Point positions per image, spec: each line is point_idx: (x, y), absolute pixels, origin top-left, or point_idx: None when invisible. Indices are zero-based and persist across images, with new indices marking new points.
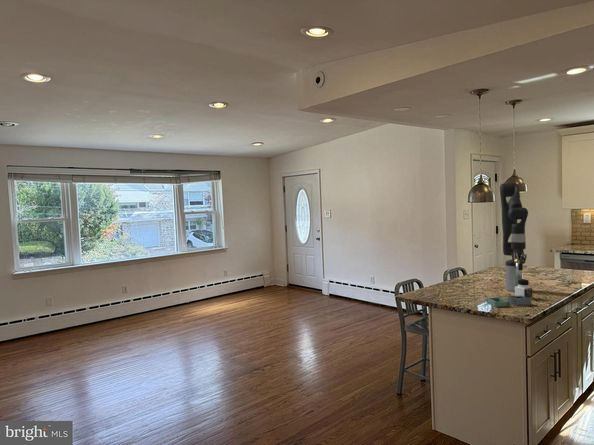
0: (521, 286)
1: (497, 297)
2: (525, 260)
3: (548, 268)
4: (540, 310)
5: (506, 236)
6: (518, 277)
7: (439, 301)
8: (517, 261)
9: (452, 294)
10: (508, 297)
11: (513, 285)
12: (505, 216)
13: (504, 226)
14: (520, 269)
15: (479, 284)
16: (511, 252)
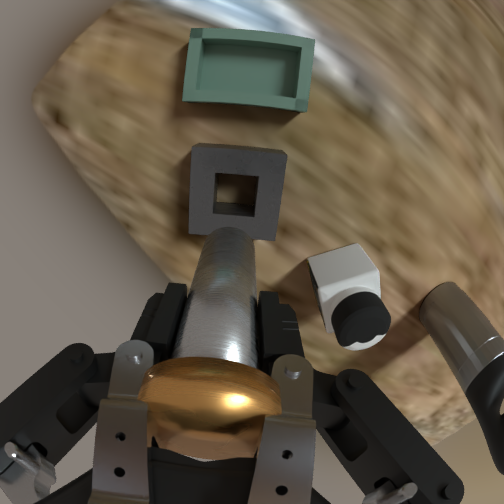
0: (346, 293)
1: (307, 99)
2: (59, 416)
3: (472, 419)
4: (110, 207)
5: None
6: (207, 238)
7: None
8: (152, 373)
9: (476, 41)
10: (281, 153)
11: (440, 309)
12: None
13: None
14: (155, 296)
15: None
16: (451, 499)
